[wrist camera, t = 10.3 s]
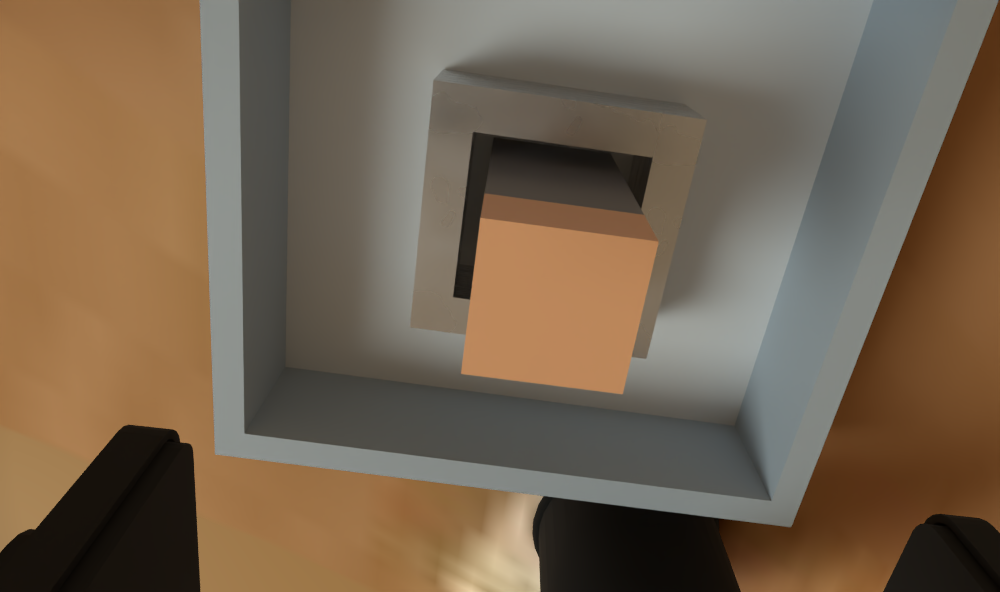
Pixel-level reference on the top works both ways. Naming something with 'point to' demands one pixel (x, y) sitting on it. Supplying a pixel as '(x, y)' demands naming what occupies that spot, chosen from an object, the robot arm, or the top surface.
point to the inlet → (554, 119)
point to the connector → (557, 269)
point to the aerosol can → (628, 549)
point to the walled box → (710, 203)
